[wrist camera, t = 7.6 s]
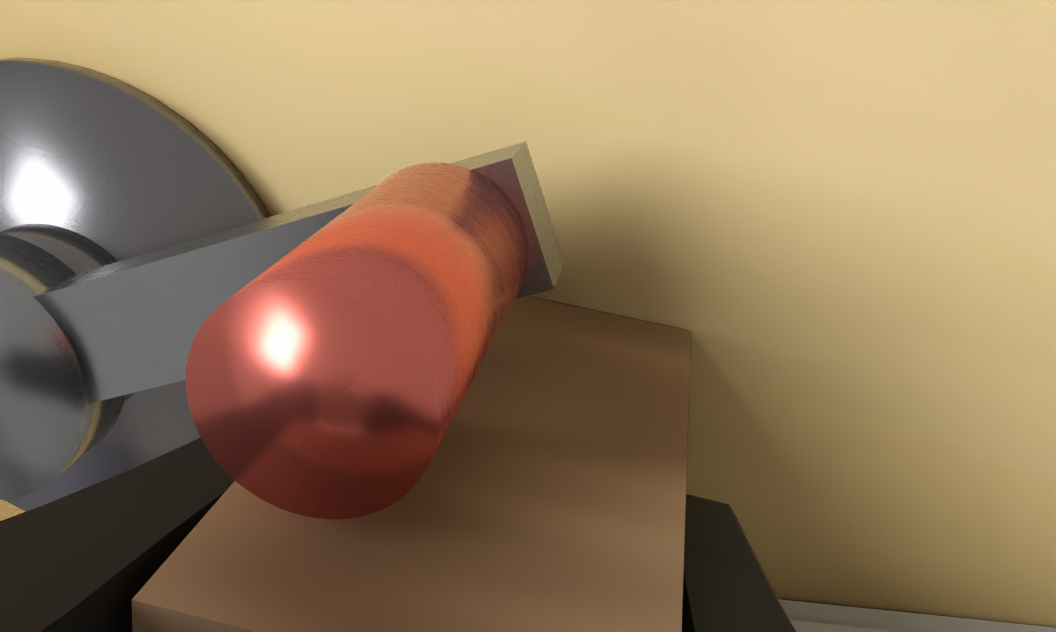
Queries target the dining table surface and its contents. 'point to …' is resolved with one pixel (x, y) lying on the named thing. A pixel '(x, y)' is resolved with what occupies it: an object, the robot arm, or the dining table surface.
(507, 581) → the block
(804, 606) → the tray
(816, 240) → the dining table surface
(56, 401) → the crank
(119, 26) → the dining table surface
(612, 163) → the dining table surface
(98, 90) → the crank hub
